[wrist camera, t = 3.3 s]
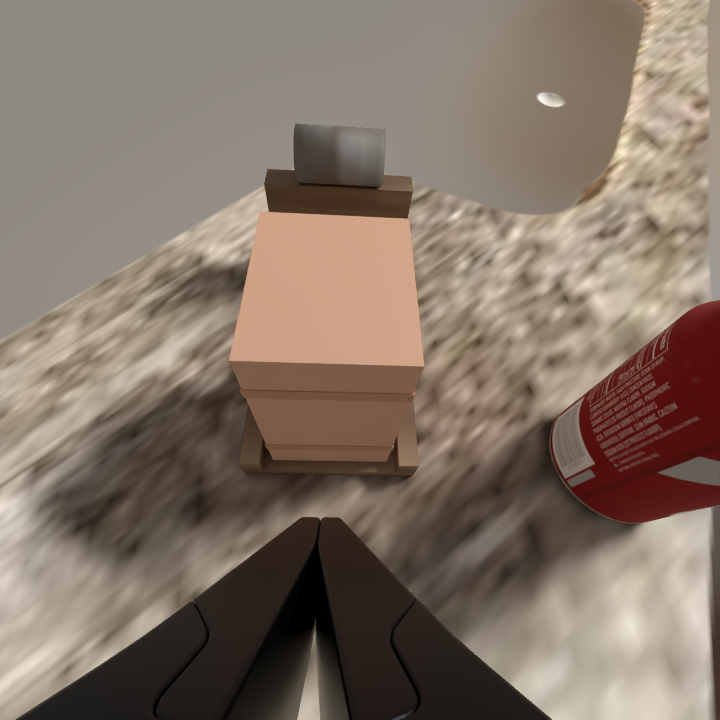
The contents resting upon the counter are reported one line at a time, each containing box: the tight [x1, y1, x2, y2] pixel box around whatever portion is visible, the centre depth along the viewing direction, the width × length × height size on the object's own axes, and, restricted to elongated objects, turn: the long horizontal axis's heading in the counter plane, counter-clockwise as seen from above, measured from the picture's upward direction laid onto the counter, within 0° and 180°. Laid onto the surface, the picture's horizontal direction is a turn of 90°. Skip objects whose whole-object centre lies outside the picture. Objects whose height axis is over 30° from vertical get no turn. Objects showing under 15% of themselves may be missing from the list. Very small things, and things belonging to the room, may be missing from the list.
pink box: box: [229, 212, 424, 462], centre depth 18 cm, size 7×6×10 cm
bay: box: [239, 124, 419, 476], centre depth 21 cm, size 18×9×10 cm, turn 0°
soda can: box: [549, 300, 720, 524], centre depth 17 cm, size 7×7×12 cm
